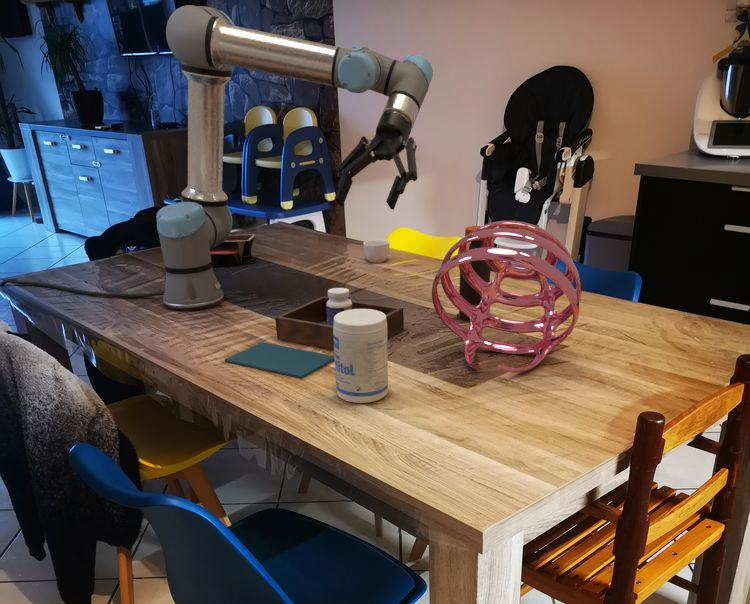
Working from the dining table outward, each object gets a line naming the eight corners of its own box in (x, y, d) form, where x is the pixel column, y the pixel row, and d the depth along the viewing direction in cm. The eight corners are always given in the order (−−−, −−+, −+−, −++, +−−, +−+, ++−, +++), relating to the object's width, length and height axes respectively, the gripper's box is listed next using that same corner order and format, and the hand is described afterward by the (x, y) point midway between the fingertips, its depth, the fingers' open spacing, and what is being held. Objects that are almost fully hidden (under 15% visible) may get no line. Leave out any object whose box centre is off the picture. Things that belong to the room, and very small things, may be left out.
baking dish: (212, 262, 239) (202, 230, 233) (265, 253, 235) (256, 220, 229) (198, 277, 227) (187, 244, 221) (253, 268, 223) (243, 234, 218)
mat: (224, 361, 155) (224, 359, 155) (262, 344, 164) (261, 341, 163) (301, 378, 145) (301, 376, 145) (336, 358, 154) (336, 356, 154)
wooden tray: (277, 339, 166) (274, 317, 163) (324, 316, 179) (323, 296, 176) (359, 355, 155) (358, 331, 153) (403, 330, 168) (403, 308, 166)
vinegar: (453, 318, 174) (454, 228, 164) (470, 311, 178) (473, 223, 168) (476, 323, 170) (479, 232, 160) (494, 316, 174) (498, 226, 164)
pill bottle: (350, 339, 164) (348, 294, 159) (325, 338, 165) (322, 293, 160) (356, 330, 169) (354, 286, 164) (331, 330, 170) (328, 286, 165)
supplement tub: (326, 396, 137) (320, 318, 130) (360, 380, 143) (356, 304, 136) (365, 409, 132) (362, 328, 124) (399, 392, 138) (397, 313, 130)
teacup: (395, 260, 223) (394, 242, 220) (374, 265, 219) (374, 246, 217) (374, 255, 230) (374, 237, 227) (354, 259, 226) (353, 241, 223)
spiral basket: (532, 297, 119) (567, 173, 129) (387, 317, 135) (428, 205, 145) (584, 397, 139) (611, 283, 149) (453, 403, 155) (485, 300, 165)
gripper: (451, 134, 167) (418, 217, 164) (358, 133, 179) (326, 210, 176) (439, 109, 160) (405, 196, 157) (344, 110, 172) (310, 190, 169)
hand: (363, 204), depth 166 cm, fingers open, 13 cm apart
